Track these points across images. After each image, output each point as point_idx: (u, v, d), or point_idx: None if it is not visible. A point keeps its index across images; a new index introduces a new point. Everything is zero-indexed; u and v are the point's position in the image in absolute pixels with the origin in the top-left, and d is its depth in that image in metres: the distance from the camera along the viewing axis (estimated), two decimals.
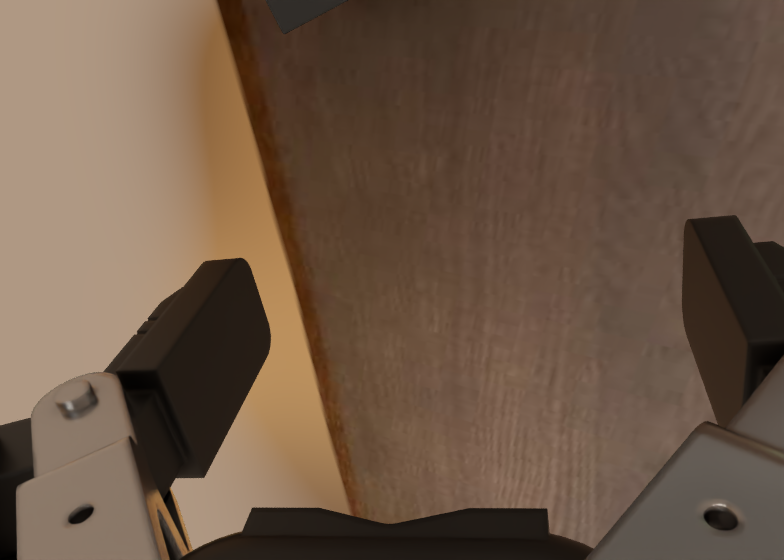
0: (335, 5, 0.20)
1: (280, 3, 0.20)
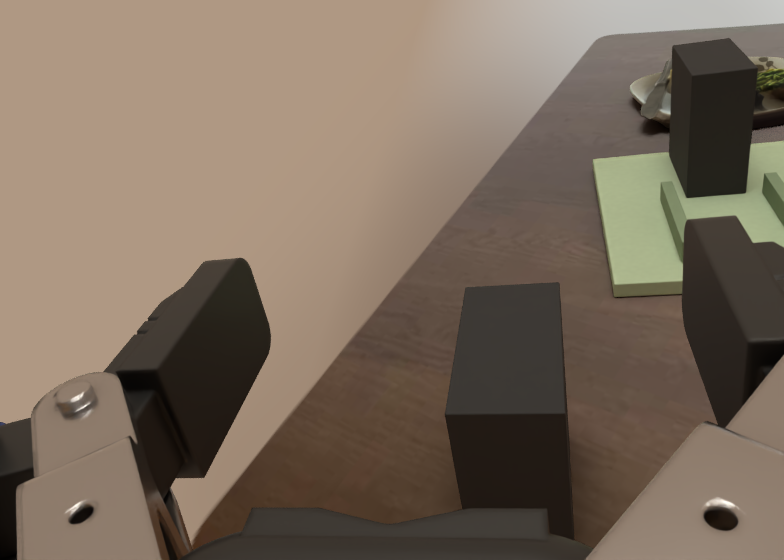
0: (562, 376, 0.24)
1: (540, 405, 0.23)
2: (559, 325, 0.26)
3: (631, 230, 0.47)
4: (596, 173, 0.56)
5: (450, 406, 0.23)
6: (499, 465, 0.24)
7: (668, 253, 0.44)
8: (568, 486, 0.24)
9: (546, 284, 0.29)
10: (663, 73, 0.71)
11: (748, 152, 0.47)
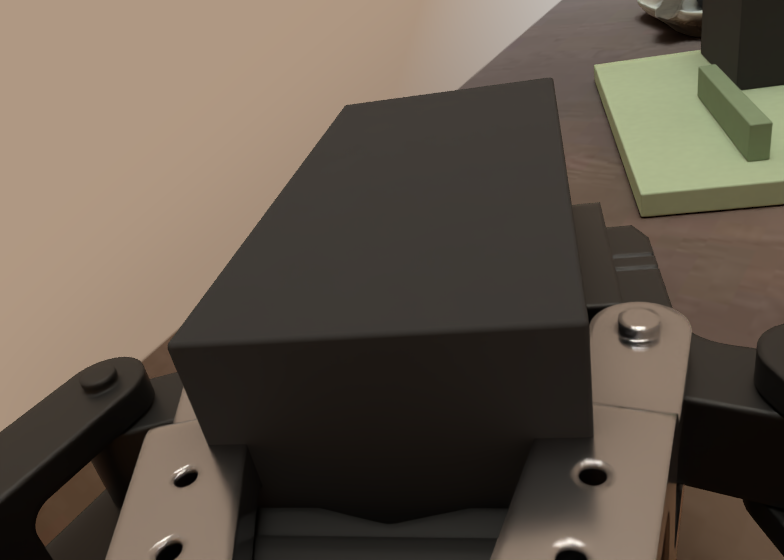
0: (571, 226, 0.07)
1: (495, 304, 0.06)
2: (556, 133, 0.10)
3: (659, 130, 0.31)
4: (600, 77, 0.40)
5: (194, 322, 0.07)
6: (372, 519, 0.07)
7: (723, 152, 0.28)
8: None
9: (523, 82, 0.12)
10: None
11: None
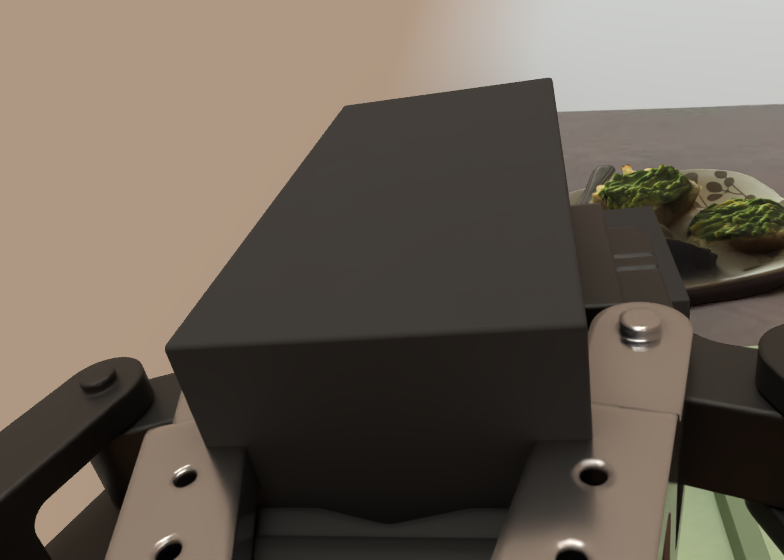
0: (569, 227, 0.07)
1: (492, 305, 0.06)
2: (555, 133, 0.10)
3: None
4: None
5: (192, 324, 0.07)
6: None
7: None
8: None
9: (522, 82, 0.12)
10: (585, 194, 0.52)
11: None
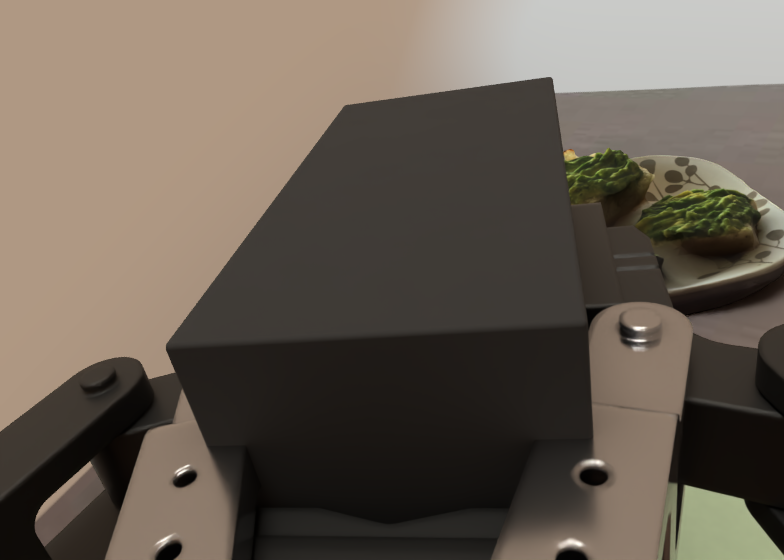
0: (570, 225, 0.07)
1: (493, 303, 0.06)
2: (555, 132, 0.10)
3: None
4: None
5: (192, 323, 0.07)
6: (371, 519, 0.07)
7: None
8: None
9: (522, 82, 0.12)
10: None
11: None
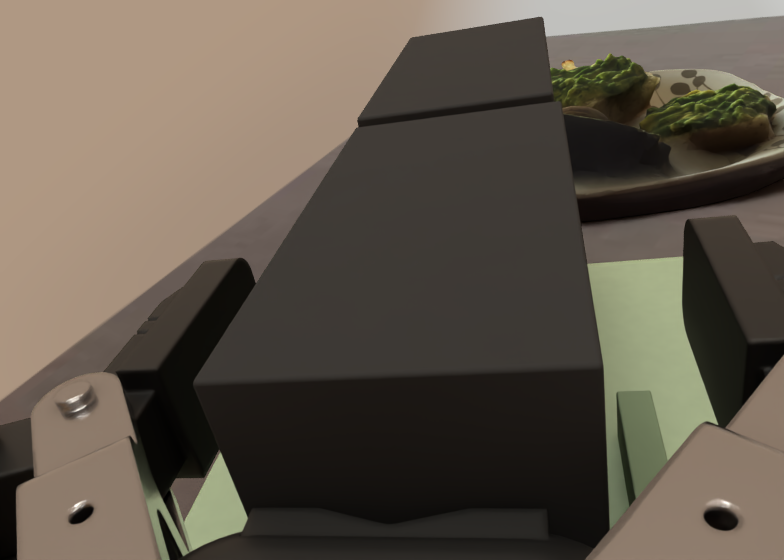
0: (583, 262, 0.08)
1: (511, 344, 0.06)
2: (566, 161, 0.10)
3: None
4: None
5: (218, 359, 0.07)
6: None
7: None
8: None
9: (532, 106, 0.13)
10: None
11: None
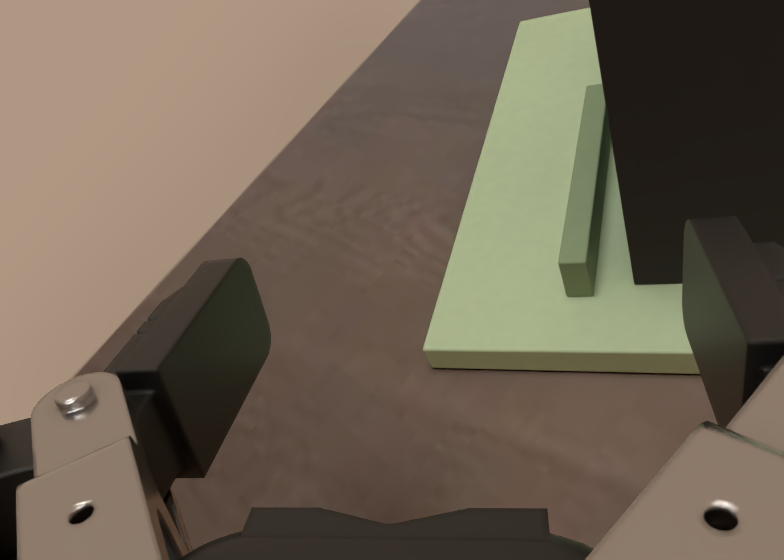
0: None
1: None
2: None
3: (511, 199, 0.24)
4: (511, 54, 0.31)
5: None
6: (680, 82, 0.15)
7: (551, 267, 0.21)
8: None
9: None
10: None
11: None
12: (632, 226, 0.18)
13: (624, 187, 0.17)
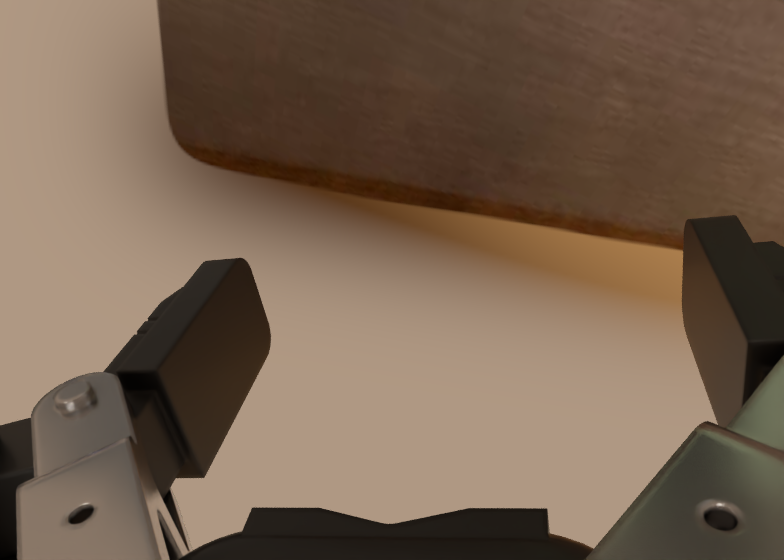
0: None
1: None
2: None
3: None
4: None
5: None
6: None
7: None
8: None
9: None
10: None
11: None
12: None
13: None
